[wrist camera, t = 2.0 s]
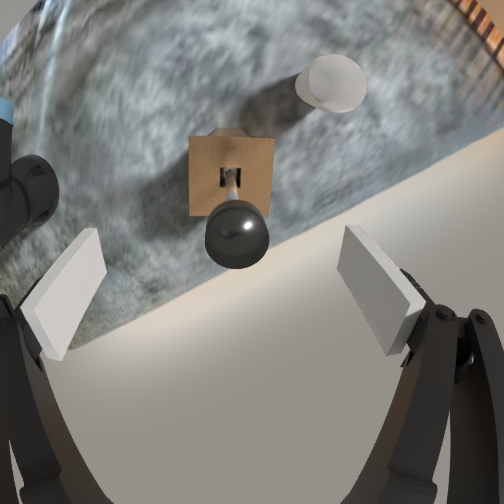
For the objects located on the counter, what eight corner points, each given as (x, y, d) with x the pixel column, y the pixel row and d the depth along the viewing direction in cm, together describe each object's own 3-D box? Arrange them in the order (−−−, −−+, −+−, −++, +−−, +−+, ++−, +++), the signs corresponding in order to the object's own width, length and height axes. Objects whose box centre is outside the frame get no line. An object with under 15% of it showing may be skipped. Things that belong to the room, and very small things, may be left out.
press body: (198, 198, 51) (190, 234, 38) (199, 127, 44) (188, 136, 31) (255, 199, 52) (266, 235, 39) (259, 129, 45) (275, 138, 32)
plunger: (201, 198, 38) (184, 286, 21) (201, 144, 35) (179, 187, 17) (256, 199, 39) (285, 286, 22) (259, 145, 35) (298, 190, 18)
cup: (319, 120, 45) (346, 126, 35) (277, 91, 42) (294, 87, 32) (345, 84, 42) (378, 81, 32) (305, 54, 39) (330, 41, 29)
